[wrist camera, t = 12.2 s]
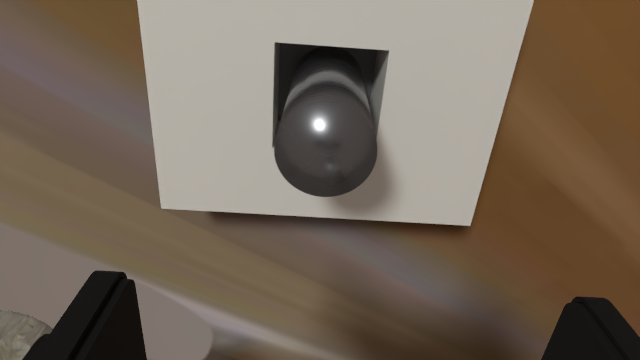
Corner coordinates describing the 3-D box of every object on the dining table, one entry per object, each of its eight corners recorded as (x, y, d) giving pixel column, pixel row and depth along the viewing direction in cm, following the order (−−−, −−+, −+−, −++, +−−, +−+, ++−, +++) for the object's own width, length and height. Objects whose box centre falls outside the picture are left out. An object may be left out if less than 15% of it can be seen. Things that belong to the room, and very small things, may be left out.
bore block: (502, -43, 24) (544, -38, 20) (448, 184, 31) (470, 225, 26) (164, -70, 23) (128, -72, 19) (183, 168, 30) (161, 208, 26)
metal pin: (365, 47, 25) (382, 105, 16) (359, 115, 27) (372, 199, 18) (294, 44, 25) (273, 100, 16) (293, 112, 27) (274, 194, 18)
